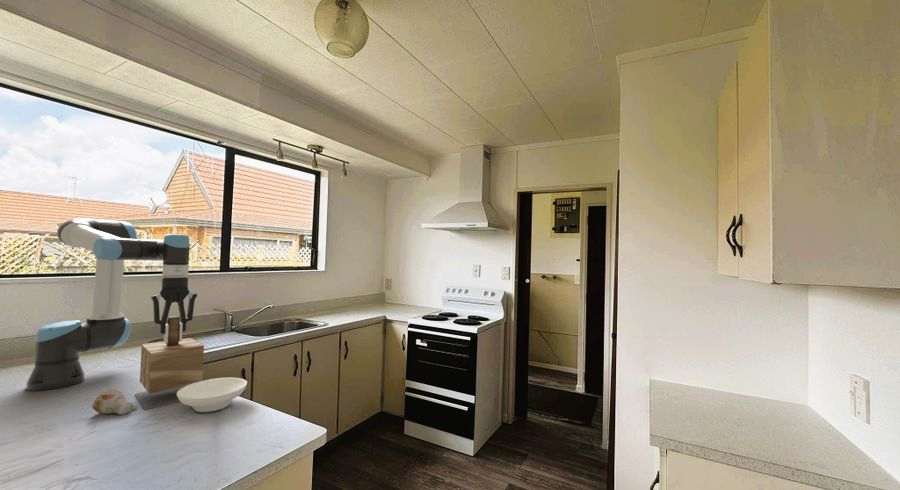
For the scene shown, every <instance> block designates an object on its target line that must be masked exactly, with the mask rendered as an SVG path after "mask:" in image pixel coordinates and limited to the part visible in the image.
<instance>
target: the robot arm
mask: <svg viewBox="0 0 900 490" xmlns="http://www.w3.org/2000/svg"><path fill="white" fill-rule="evenodd" d="M56 232H57V233H56V234H57V238H58V240H59V242H61V243H63V244H64V245H67V246H69V247H72V248H82V249H86V250H88V251H91V252H92V253H93V255H94V257H95V258H96V260H95V261H96V262H95V273H94V275H95V276H94V287H93V301H92V313H91V314H90V315H88V316H87V317H86V322H83V323H82V321H81V320H77V319H76V320H75V319H72V320H64V321H60V322H54V323H49V324H46V325H43V326H41V327H40V328H39V329H37V332H36V337H35V356H34V367H33V370H32V372H31V374H30V375H29V377H28V379H27V381H26V384H25V387H26V390H27V391H33V392H34V391H46V390H55V389H56V390H57V389H60V388H61V389H62V388H66V387H69V386H73V385H76V384H79V383H82V382H83V381H84V380H85V371H84V369H83V367H82V363H81V362H80V354H82V353H87V352H93V351H99V350H104V349H111V348H115V347H119V346H122V345H124V344H125V343H126V342H127V341H128V339H129V336H130V334H131V322H130V320H129V319H128V318H125V314H124V313H123V312H122V311H121V306H122V296H123V295H122V293H123V282H124V281H123V280H124V266H125V261H162V274H161V275H162V276H164V277H162V279H161V290H160V291H159V293H158V294H155V295H151V296H150V299H151V301H152V302H153V303H152V304H153V323H155V324H157V325H160V328H159V329H160V331H159V332H160V334H161V335H163V342H164V343H165V344H166V343H168V329H169V325H168V317H169V314H170V313H169V312H170V310H171V306H172V304H174V303H177V307H178V312H179V317H180V323H179V342H181V341H182V339H183V332H186V330H187V323H188V322H190V321H192V320H193V316H194V309H195V308H194V307H195V301H196V298H197V297H198V294H197V293H193V292H190V289H189V277H188V276H189V266H190V265H189V263H190V250H191V249H190V248H191V247H190V246H191V244H190V236H189V235H187V234H179V233H178V234H175V233H174V234H173V233H168V234H165V235H164V237H163V239H144V238H141V239H140V238H138V235H137V230H136V228H135V227H134V225H133V224H131V223H130V222H128V221H122V220H121V221H120V220H111V219H110V220H109V219H96V218H89V217H88V218H86V217H85V218H84V217H83V218H73V219H70V220H67V221H65V222H63V223H62V224H61V225H60V226H59V227H58V229H57V231H56ZM187 296H188V305H187V313H186V311H185V305H184V303H185V302H184V300H185V299H186V297H187ZM161 298H163V300H164V301H165V302H164V307H163V311H162V314H161V315H162V316H161V315H160V300H161ZM160 318H161V319H160Z"/></svg>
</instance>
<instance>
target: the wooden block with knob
mask: <svg viewBox="0 0 900 490" xmlns="http://www.w3.org/2000/svg"><path fill="white" fill-rule="evenodd" d="M180 322H181V319H180V315H179V316H178V315H176V316H175V315H174V316H168V318H167V324H168V325H169V329H168V343H166V344H165V343H164V341H158V342H149V343H142V344H141V351H140V368H139V369H140V372H139V373H140V374H139V382H140V383H141V385H142V386H143V387H144V389H145V391H147V392H148V393H149V394H152V393H157V392H161V391H166V390H171V389H176V388H180V387H185V386H187V385H190V384H193V383H196V382H200V381H204V380H203V378H204V377H203V376H204V357H205V356H204V353H205V351H204V350H205V345H203V344H202V343H200V342H199V341H197V340H195V339H194V338H191V337H187V338H182V341H181V342H179V323H180Z"/></svg>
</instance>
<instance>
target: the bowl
mask: <svg viewBox="0 0 900 490" xmlns="http://www.w3.org/2000/svg"><path fill="white" fill-rule="evenodd" d="M247 385H248V381H247V380H246V379H244V378H241V377H217V378H210V379H206V380H205V379H204V380H203V381H200V382H196V383H193V384H190V385H187V386H185V387H183V388H181V389H180V390H178V391H177V397H178V399H179V401H180V402H179V403H182V404H183V405H186V406H191V407H192V408H193V409H194V411H196V412H199V413H209V412H214V411H215V412H216V411H218V410H222V409H225V408H227V407H228V406H229V405H230V404H231V402H232V401H233V400H234V399H236V398H238V397H240V396H241V395H242V393H243V392H244V391H245V390H246V388H247Z"/></svg>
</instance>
